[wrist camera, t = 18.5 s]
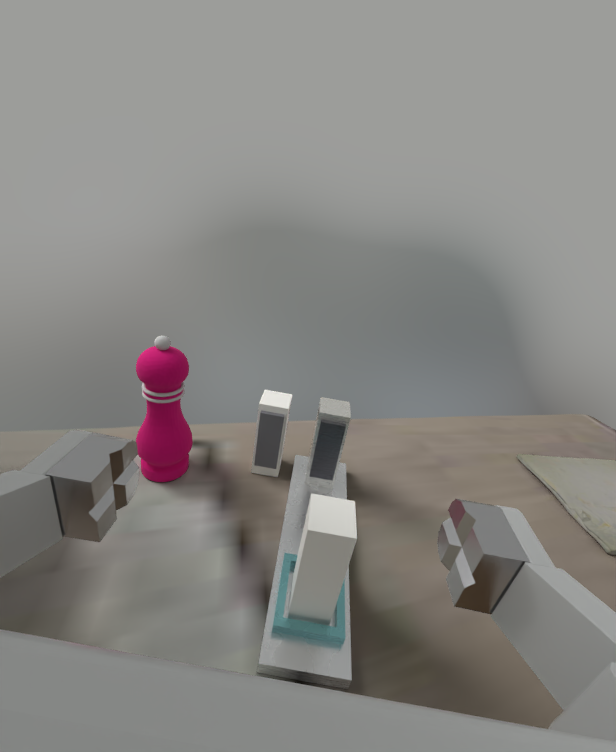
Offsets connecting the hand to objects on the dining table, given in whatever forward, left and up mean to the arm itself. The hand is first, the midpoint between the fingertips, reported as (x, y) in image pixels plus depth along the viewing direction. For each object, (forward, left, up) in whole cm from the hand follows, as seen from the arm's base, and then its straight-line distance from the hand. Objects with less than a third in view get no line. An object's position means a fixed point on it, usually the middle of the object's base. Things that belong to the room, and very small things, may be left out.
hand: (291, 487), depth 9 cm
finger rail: (+4, +23, -30) cm, 38 cm away
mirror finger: (-4, +35, -30) cm, 46 cm away
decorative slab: (+56, +42, -31) cm, 77 cm away
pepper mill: (-18, +31, -30) cm, 47 cm away
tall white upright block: (+4, +15, -28) cm, 32 cm away
